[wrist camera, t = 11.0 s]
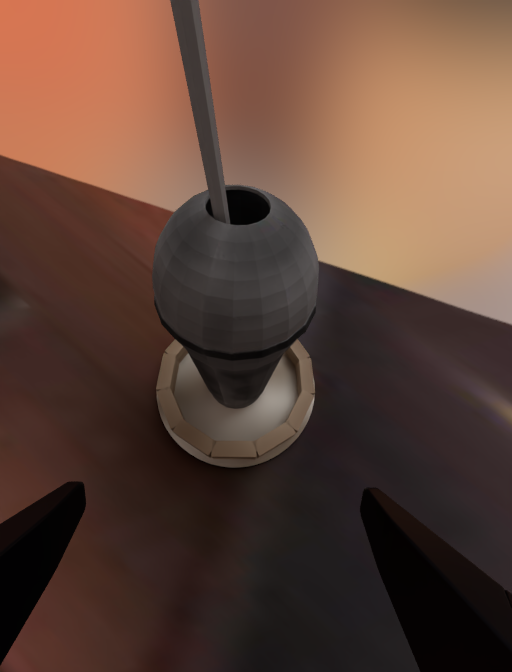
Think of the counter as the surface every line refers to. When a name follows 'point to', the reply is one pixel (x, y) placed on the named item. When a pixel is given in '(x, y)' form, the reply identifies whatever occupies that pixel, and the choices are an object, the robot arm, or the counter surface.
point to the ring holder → (235, 410)
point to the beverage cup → (230, 259)
